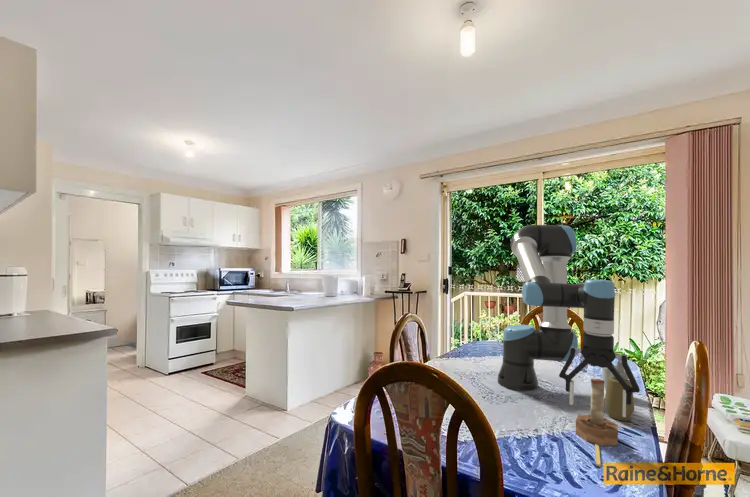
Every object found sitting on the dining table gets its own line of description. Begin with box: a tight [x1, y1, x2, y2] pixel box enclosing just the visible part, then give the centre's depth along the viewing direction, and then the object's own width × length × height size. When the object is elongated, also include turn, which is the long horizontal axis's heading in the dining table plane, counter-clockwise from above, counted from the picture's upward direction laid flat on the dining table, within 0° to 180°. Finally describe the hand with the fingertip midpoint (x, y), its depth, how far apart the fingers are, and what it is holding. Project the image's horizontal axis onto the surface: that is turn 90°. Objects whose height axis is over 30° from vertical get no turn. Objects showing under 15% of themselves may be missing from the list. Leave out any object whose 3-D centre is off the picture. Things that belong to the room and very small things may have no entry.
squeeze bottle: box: [604, 360, 635, 422], centre depth 118 cm, size 8×8×18 cm
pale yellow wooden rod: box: [594, 443, 601, 468], centre depth 93 cm, size 11×1×1 cm, turn 150°
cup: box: [601, 364, 625, 392], centre depth 138 cm, size 8×8×10 cm
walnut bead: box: [575, 414, 619, 447], centre depth 104 cm, size 10×10×4 cm
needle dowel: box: [589, 378, 605, 426], centre depth 104 cm, size 3×3×16 cm
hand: (596, 409), depth 104 cm, fingers open, 12 cm apart
